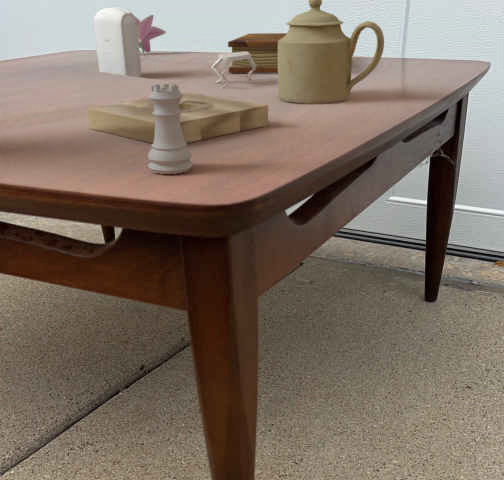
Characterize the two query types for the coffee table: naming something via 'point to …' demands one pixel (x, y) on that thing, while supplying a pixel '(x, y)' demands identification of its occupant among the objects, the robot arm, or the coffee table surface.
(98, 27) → the tombstone
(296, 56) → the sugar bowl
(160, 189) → the coffee table surface
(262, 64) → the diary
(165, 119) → the rook chess piece
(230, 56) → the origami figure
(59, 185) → the coffee table surface
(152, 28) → the lily
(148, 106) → the pad
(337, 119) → the coffee table surface
